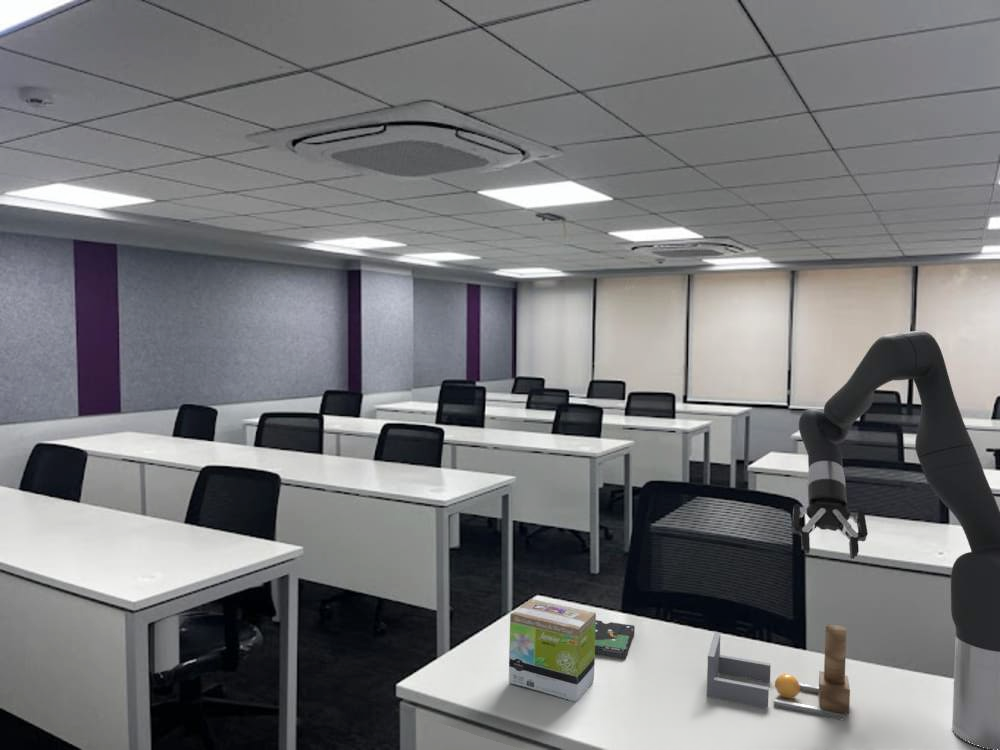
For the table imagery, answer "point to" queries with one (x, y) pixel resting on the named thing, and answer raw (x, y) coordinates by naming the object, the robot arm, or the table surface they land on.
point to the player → (834, 672)
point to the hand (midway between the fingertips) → (830, 554)
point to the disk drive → (613, 639)
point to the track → (806, 707)
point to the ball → (787, 686)
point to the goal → (740, 669)
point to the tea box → (552, 649)
